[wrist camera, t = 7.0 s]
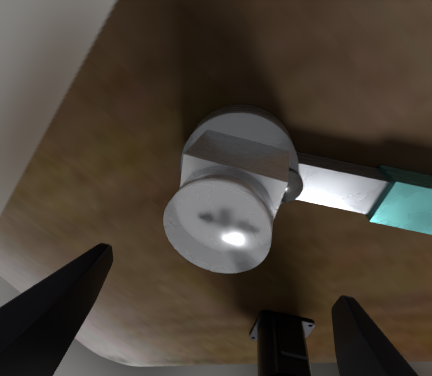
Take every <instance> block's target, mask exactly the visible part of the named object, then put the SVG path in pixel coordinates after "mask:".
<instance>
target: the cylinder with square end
mask: <svg viewBox="0 0 432 376" xmlns="http://www.w3.org/2000/svg"><path fill="white" fill-rule="evenodd" d="M288 173H289V150H285V149H282V148H278V147H274V146H270V145H266V144H262V143H258V142H254V141H251V140H247V139H243V138H239V137H235V136H231V135H227V134H223V133H220V132H216V131H212V130H208V129H207V130H206V131H205V132H204V133H203V134H202V135H201V136H200V137H199V138H198V139H197V140H196V141H195V142H194V143H193V145H192V146H191V147H190V148H189V149H188V150H187V151H186V152H185V153H184V154H183V164H182V174H181V184H180V188H179V190H178V191H177V192H176V194H175V195H174V196H173V198H172V199H171V200H170V202H169V203H168V205H167V207H166V209H165V212H164V218H163V222H164V229H165V232H166V235H167V237H168V239H169V241H170V242H171V244H172V245H173V247H174V248H175V249H176V250H177V251H178V252H179V253H180V254H181V255H182V256H183V257H184V258H186V259H187V260H188V261H190V262H192V263H193V264H195V265H197V266H199V267H201V268H204V269H206V270H210V271H213V272H218V273H240V272H244V271H248V270H250V269H252V268H254V267H256V266H257V265H259V264H260V263H261V262H262V261H263V260H264V259H265V258H266V256H267V254H268V252H269V250H270V247H271V238H272V229H273V220H274V218H275V215H276V213H277V210H278V208H279V205H280V202H281V200H282V197H283V195H284V192H285V190H286V187H287V184H288Z"/></svg>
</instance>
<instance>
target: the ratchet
mask: <svg viewBox="0 0 432 376" xmlns="http://www.w3.org/2000/svg"><path fill="white" fill-rule="evenodd" d="M207 129H208V130H212V131H216V132H220V133H223V134H227V135H231V136H235V137H239V138H243V139H247V140H251V141H254V142H258V143H262V144H266V145H270V146H274V147H278V148H282V149H285V150H289V173H288V184H287V187H286V190H285V192H284V195H283V197H282V200H281V202H280V205H281V204H282V203H283V202H290V201H293V200H295V199H297V200H302V201H307V202H311V203H316V204H321V205H326V206H330V207H335V208H340V209H345V210H349V211H354V212H359V213H364V214H365V215H366V216H367V218H368V220H369V221H370V222H375V223H379V224H384V225H389V226H394V227H398V228H403V229H408V230H412V231H417V232H422V233H427V234H431V235H432V175H428V174H423V173H418V172H413V171H408V170H403V169H398V168H394V167H389V166H384V165H380V166H379V168H374V167H369V166H364V165H359V164H354V163H350V162H345V161H340V160H335V159H330V158H325V157H320V156H316V155H311V154H306V153H301V152H296V151H295V148H294V145H293V142H292V139H291V136H290V134H289V132H288V130H287V129H286V127H285V126H284V124H283V123H282V122H281V121H280V120H279V119H278V118H277V117H276V116H275V115H273V114H272V113H270V112H269V111H267V110H265V109H262V108H260V107H257V106H253V105H247V104H234V105H228V106H224V107H221V108H219V109H217V110H214V111H213V112H211V113H209V114H208V115H207V116H206V117H204V118H203V119H202V120H201V121H200V122H199V124H198V125H197V126H196V128H195V129H194V131H193V133H192V134H191V136H190V137H189V139H188V141H187V142H186V144H185V146H184V149H183V152H182V155H181V162H180V169H181V174H182V164H183V154H184V153H185V152H186V151H187V150H188V149H189V148H190V147H191V146H192V145H193V143H194V142H195V141H196V140H197V139H198V138H199V137H200V136H201V135H202V134H203V133H204V132H205V131H206V130H207ZM280 205H279V206H280Z"/></svg>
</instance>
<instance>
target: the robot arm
mask: <svg viewBox="0 0 432 376" xmlns="http://www.w3.org/2000/svg"><path fill="white" fill-rule="evenodd" d="M112 263H113V253H112V246H111V245H109V244H105V243H100V244H98V245H96V246H95V247H93V248H92V249H90V250H88V251H87V252H85V253H84V254H82V255H81V256H79V257H78V258H76V259H74V260H73V261H71V262H70V263H68V264H67V265H65V266H64V267H62V268H60V269H59V270H57V271H56V272H54V273H53V274H51V275H50V276H48V277H46V278H45V279H43V280H42V281H40V282H39V283H37V284H36V285H34V286H32V287H31V288H29V289H28V290H26V291H25V292H23V293H22V294H20V295H19V296H17V297H15V298H14V299H12V300H11V301H9V302H8V303H6V304H5V305H3V306H1V307H0V376H53V374H54V372H55V371H56V369H57V367H58V366H59V364H60V362H61V360H62V359H63V357H64V355H65V354H66V352H67V350H68V348H69V347H70V345H71V343H72V341H73V340H74V338H75V336H76V334H77V333H78V331H79V329H80V328H81V326H82V324H83V322H84V321H85V319H86V317H87V315H88V314H89V312H90V310H91V308H92V307H93V305H94V303H95V301H96V299H97V297H98V295H99V292H100V290H101V288H102V286H103V283H104V281H105V279H106V277H107V274H108V272H109V270H110V268H111V265H112ZM332 322H333V333H334V343H335V353H336V359H337V365H338V369H339V375H340V376H418V375H417V374H416V372H415V371H414V370H413V369H412V368H411V366H410V365H409V364H408V363H407V361H406V360H405V359H404V358H403V357H402V355H401V354H400V353H399V352H398V351H397V349H396V348H395V347H394V346H393V344H392V343H391V342H390V341H389V340H388V338H387V337H386V336H385V335H384V334H383V332H382V331H381V330H380V329H379V328H378V326H377V325H376V324H375V323H374V321H373V320H372V319H371V318H370V317H369V315H368V314H367V313H366V312H365V311H364V309H363V308H362V307H361V306H360V305H359V303H358V302H357V301H356V300H355V299H354V298H353V297H349V296H345V295H342V296H340V298H339V299H338V300H337V301H336V303H335V304H334V305H333V307H332ZM314 327H315V323H314V321H312V320H307V319H303V318H298V317H294V316H289V315H285V314H280V313H276V312H271V311H267V310H262V311H261V312H260V314H259V316H258V318H257V320H256V322H255V324H254V326H253V328H252V330H251V333H250V339H252V340H256V341H257V349H258V376H312V375H311V369H310V363H309V357H308V351H307V345H306V338H307V336H308V335H309V334H310V332H311V331H312V330H313V328H314Z"/></svg>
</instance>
